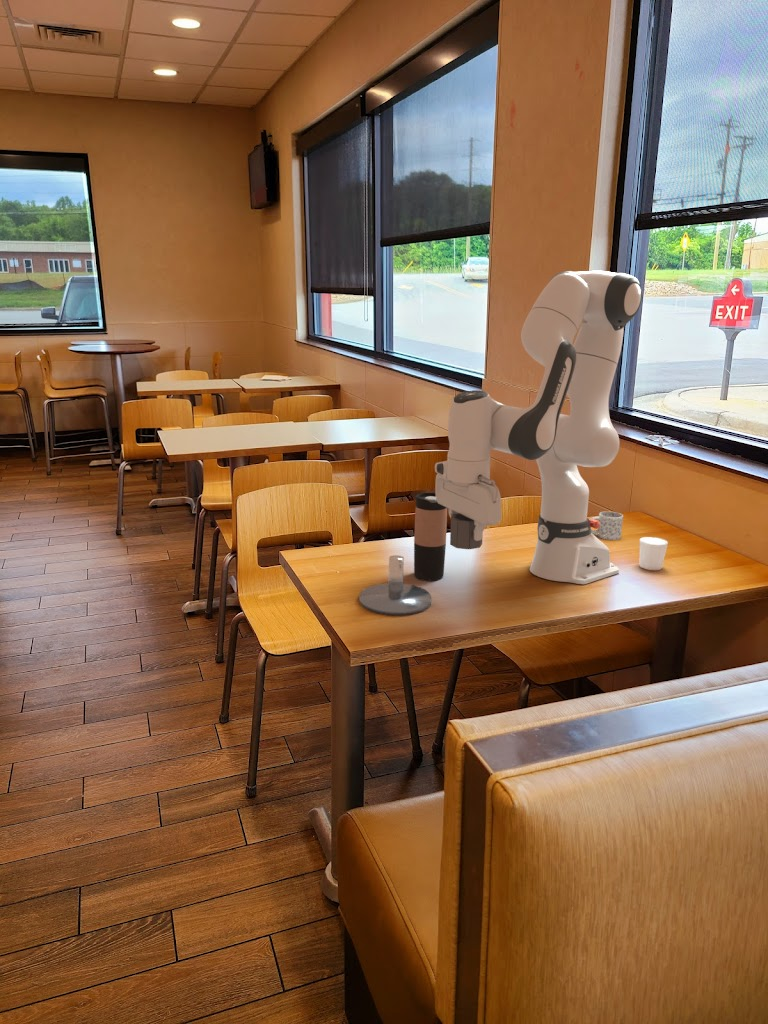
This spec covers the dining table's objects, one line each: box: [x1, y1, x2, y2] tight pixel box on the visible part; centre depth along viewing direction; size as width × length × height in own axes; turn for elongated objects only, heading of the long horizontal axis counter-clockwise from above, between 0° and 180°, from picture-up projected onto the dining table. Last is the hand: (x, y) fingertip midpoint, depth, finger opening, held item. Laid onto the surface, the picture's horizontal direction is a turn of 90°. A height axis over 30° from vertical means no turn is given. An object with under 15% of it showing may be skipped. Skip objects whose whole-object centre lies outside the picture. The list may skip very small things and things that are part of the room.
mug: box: [588, 510, 624, 541], centre depth 218 cm, size 10×7×7 cm, turn 94°
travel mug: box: [413, 492, 448, 582], centre depth 182 cm, size 8×8×20 cm
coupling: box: [449, 513, 484, 550], centre depth 160 cm, size 6×6×6 cm
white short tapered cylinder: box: [638, 536, 669, 571], centre depth 193 cm, size 7×7×7 cm
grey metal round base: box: [358, 554, 432, 616], centre depth 167 cm, size 16×16×10 cm
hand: (466, 534), depth 160 cm, fingers closed on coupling, 6 cm apart
